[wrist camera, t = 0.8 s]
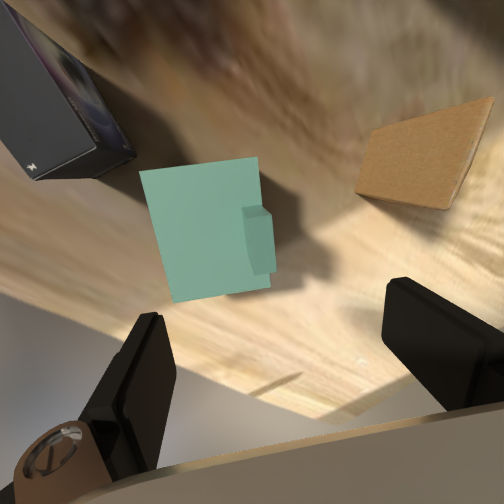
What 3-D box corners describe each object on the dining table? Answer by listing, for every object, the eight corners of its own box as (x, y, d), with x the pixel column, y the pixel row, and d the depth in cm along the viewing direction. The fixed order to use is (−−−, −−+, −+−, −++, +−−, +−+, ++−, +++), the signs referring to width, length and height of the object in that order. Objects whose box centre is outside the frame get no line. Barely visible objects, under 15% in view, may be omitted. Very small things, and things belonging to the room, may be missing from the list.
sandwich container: (444, 211, 37) (585, 238, 22) (352, 194, 34) (445, 212, 20) (470, 151, 34) (646, 138, 20) (372, 128, 31) (494, 94, 17)
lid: (254, 157, 25) (268, 152, 18) (268, 280, 30) (283, 316, 22) (144, 171, 24) (111, 171, 17) (176, 295, 29) (160, 338, 22)
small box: (141, 155, 29) (101, 148, 19) (94, 180, 29) (30, 185, 20) (83, 58, 26) (-3, -11, 16) (30, 87, 26) (-88, 36, 16)
